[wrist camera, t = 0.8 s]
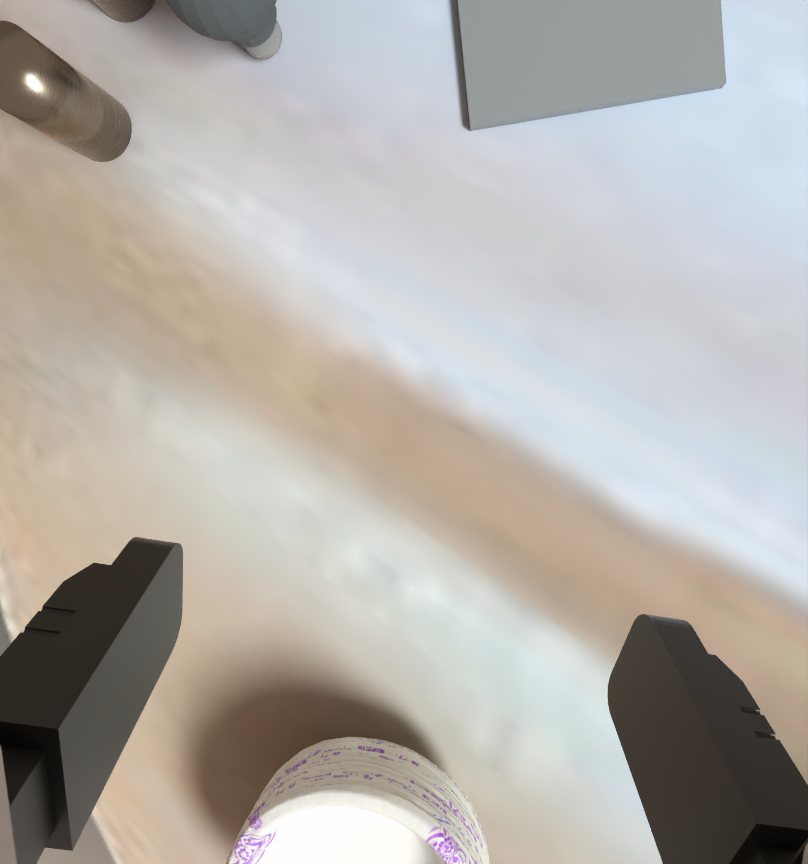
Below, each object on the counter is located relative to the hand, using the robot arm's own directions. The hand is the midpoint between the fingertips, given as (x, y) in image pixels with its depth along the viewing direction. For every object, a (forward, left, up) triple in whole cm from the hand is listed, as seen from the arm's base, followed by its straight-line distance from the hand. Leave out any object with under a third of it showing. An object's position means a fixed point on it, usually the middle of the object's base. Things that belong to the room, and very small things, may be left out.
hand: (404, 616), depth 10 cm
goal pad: (-26, -7, -26) cm, 38 cm away
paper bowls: (+25, +8, -27) cm, 37 cm away
